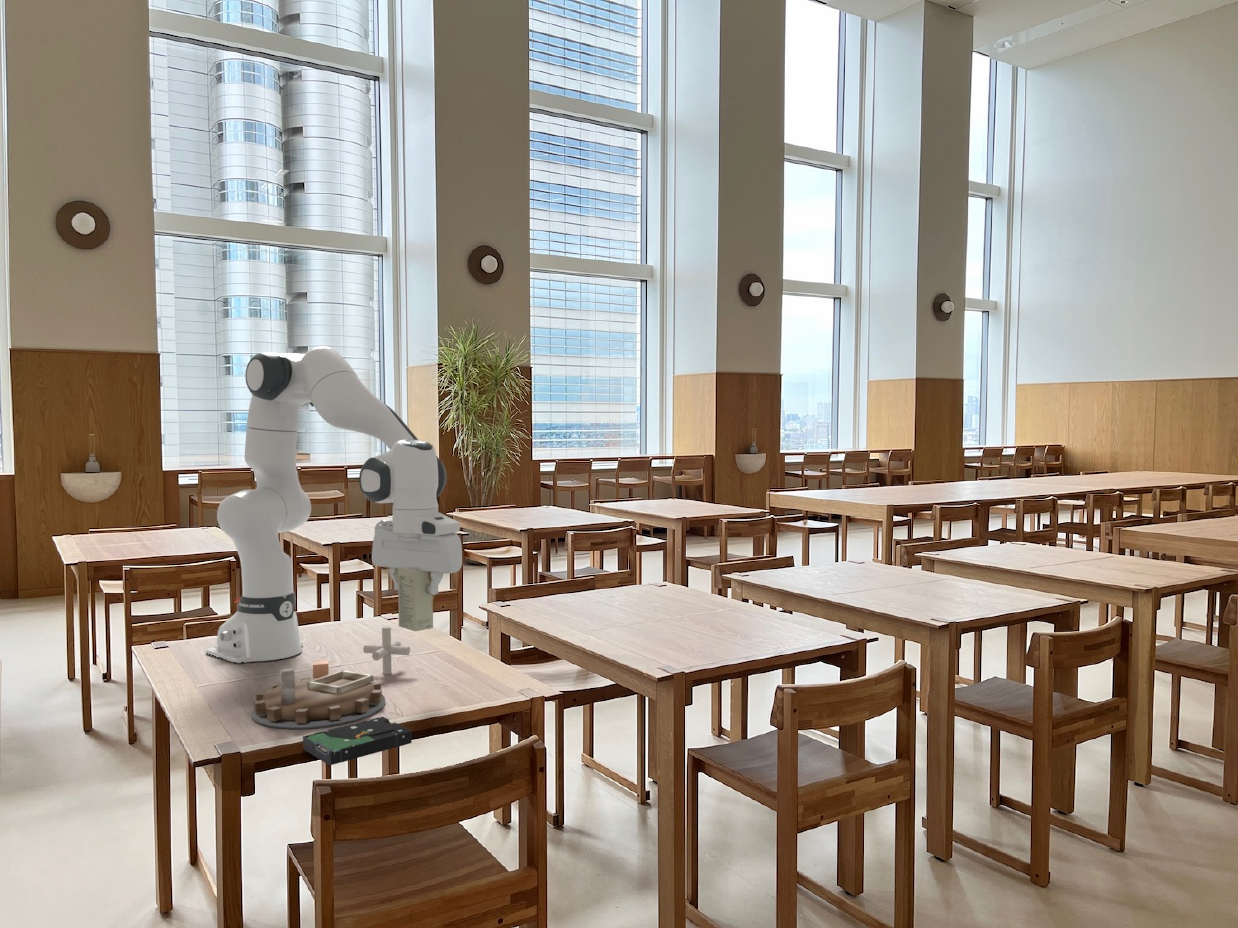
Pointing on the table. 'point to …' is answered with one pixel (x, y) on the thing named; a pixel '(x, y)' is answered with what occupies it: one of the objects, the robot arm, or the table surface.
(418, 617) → the skincare box
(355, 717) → the dial base
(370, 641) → the table surface
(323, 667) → the orange rectangular block
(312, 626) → the table surface
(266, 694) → the dial
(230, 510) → the robot arm
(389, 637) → the pipe connector
